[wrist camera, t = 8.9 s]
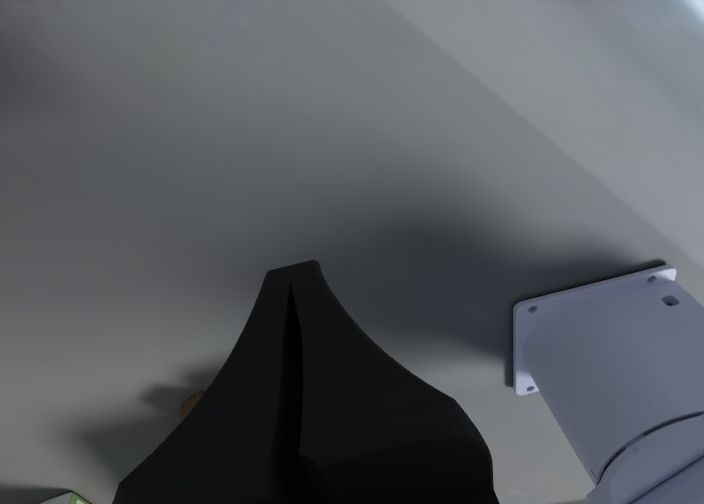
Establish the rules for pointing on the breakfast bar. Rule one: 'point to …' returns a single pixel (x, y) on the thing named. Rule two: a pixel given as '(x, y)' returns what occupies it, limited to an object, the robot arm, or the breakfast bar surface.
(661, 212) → the breakfast bar surface
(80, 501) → the syrup box
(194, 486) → the robot arm
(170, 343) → the breakfast bar surface
